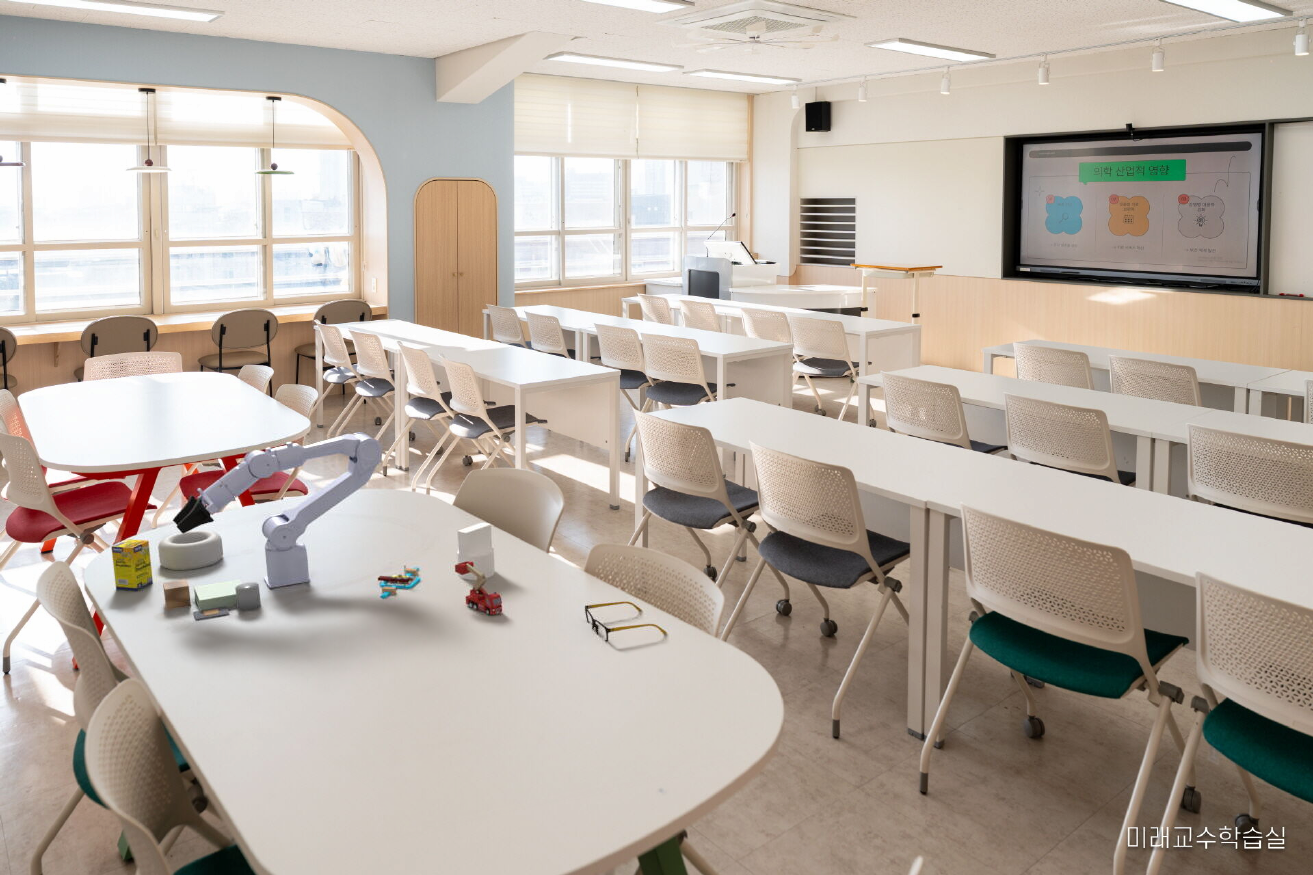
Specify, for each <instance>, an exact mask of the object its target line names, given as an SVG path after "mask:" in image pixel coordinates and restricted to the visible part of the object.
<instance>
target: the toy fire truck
mask: <svg viewBox="0 0 1313 875" xmlns="http://www.w3.org/2000/svg"><path fill="white" fill-rule="evenodd" d="M473 567H474V563H473V562H470V561H466V562H463V563H460V564H458V563H457V564H455V565H454V572H455V573H457V574H458V573H459V574H461V575H464V574H467V573H470V572H472V573H473V574H474V575H476V576H477V579H476V580H474V581H475V582H474V584H473V586H472V589H469V594H468V595H466V596H465V604H466V605H467V606H469V608H471V609H473V610H475V611H476V610H479V611H481V612H484V613H486V614H485V615H487V616H489V615H491V616H492V615H498V614H500V613H502V612H503V603H502V602H503V601H502V597H501V595H500V593H498V592H496V591H494V592H493V593H488V592H487V590H486V589H485V588H484V586H485V583H487V581H488V578H486V577H485V575H484V574H481V573H480V572H479V571H477V570H476V569H475V568H473Z"/></svg>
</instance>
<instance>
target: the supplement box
mask: <svg viewBox="0 0 1313 875" xmlns="http://www.w3.org/2000/svg"><path fill="white" fill-rule="evenodd" d="M110 548H111V554H112V555H111V556H112V563H113V564H112V565H113V574H114V581H115V589H116V590H118V591H120V590H122V591H132V592H135V591H136V592H138V591H140V590H141V589H143V588H145V587H147V586H149V585H151V584H154V582H153V581H154V580H153V571H152V561H151V553H150V552H151V551H150V542H149V540H145V539H144V540H143V539H133V538H132V539H129V538H127V539H126V540H124V541H122V542H119V543H117V544H115V545H114V544H113V545H111V547H110Z"/></svg>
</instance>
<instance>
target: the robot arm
mask: <svg viewBox="0 0 1313 875" xmlns="http://www.w3.org/2000/svg"><path fill="white" fill-rule="evenodd" d="M338 454H341V455H344V456H348V467H347V471H345V472H344V473H343V474H341V475H340V476H338V477H337V478H335V479H334V480H332V481H330V483H328V484H327V485H326V486H323V487H322V488H321V489H319V490H318V491H317V492H315V493H314V494H312V495H311V496H309V497H308V498H307V499H306V500H305V499H304V501H302V502H300V504H298V505H297V506H295V507H294V508H291V509H286V510H284V511H282V512H281V513H279V514H276V515H271V516H268V517H267V518H266V519H265V520H264V521H263V523H262V525H261V532H262V534H263V536H264V537H265V538H266V542H265V545H264V552H265V554H264V555H265V563H266V572H267V573H266V576H264V577H263V579H264V582H265V583H266V585H267V587H268V588H269V589H271V588H272V589H273V588H278V587H284V586H291V585H297V584H304V583H307V582H308V583H309V582H310V573H309V562H308V561H309V560H308V552H307V548H306V544H305V543H304V542H299V543H297V541H298V538H300V537H301V536H302V535H303V534H304V533H306V531H307V530H306V529H307V528H308V526H309V525H310V524H311V523H313V522H314V521H316V520H317V519H318V518H320V517H322V516H323V515H324V514H325V513H327V512H329V511H330V510H331V509H332V508H334V507H335V506H336V505H338V504H339V503H341V502H342V501H343V500H346V499H347V498H348V497H349V496H351V495H352V494H354V493H355V492H357V491H358V490H359V489H361V488H362V487H364V486H365V485H366V484H368V482H369V481H370V480H371V477H372V476H373V473H374V471H375V470H376V468H377V466H378V465H379V464H380V463H381V462H382V457H383V446H382V444H381V442H380V441H378V440H377V439H376V438H372V437H371V436H369V435H368V434H366V433H365V432H359V431H358V432H354V433H346V434H344V435H339V436H336V437H333V438H332V437H331V438H328V439H326V440H322V441H318V442H314V443H312V444H309V445H303V446H302V445H300V444H299V443H298V442H297V443H295V442H294V443H293V442H292V441H287V442H285V445H281V446H277V447H274V448H271V447H270V446H268V447H266V448H265V451H263V450H259V449H257V450H256V449H255V450H253V451H249V452H247V453H246V454H245V456H244V458H243V461H242V462H240V463H239V464H238V465H236V466H234V467H233V468H231V469H230V470H229V471H228V472H227V473H225V474H224V475H223V476H221V477H220V478H219V479H218V480H216V481H215V482H214V483H212V484H210V486H208V487H207V488H206V489H204V490H203V489H202V488H200V487H198V488H197V491H198V492H199V496H197V498H196V497H195V496H194V495H193V494H191V495H190V496H189V498H188V500H187V501H186V503H185V504H184V506H183V507H182V509H181V510H180V511H179V512H178V513H177V514H176V515H175V516H174V518H173V519H172V522H174V524H176V528H177V529H178V530H179V532H182V533H186V532H188V531H193V529H196V528H197V527H200V526H203V525H206V524H210V523H213V522H214V521H215V520H214V519H213V517H212V516H213V515H214V514H215V513H217V514H218V513H220V512H221V510H222V509H224V508H225V507H226V506H227V505H229V504H230V503H231V502H232V501H234V500H235V499H236V498H238V497H239V496H240V495H241V494H243V493H244V492H246V491H247V490H248V489H249V488H251V487H252V486H253V485H254V484H255V483H256V482H257V481H259V480H260V479H265V478H266V479H268V478H270V477H272V475H273V474H274V473H279V472H282V471H283V472H284V471H287V470H292V469H295V468H298V467H302V466H304V464H305V463H306V462H307V461H308V460H311V459H317V458H321V457H326V456H327V457H328V456H331V455H338Z"/></svg>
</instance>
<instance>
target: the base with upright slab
mask: <svg viewBox="0 0 1313 875" xmlns="http://www.w3.org/2000/svg"><path fill="white" fill-rule="evenodd" d="M457 542H458V549H457V552H456V556H457V558H456V559H457V564H460V563H463V562H466V561H470V562H473V563H474V567H473V568H475V569H476V570H477V571H479V572H480V573H481V574H484V575H485V577H486V579H488V578H491V577H493V576H494V575H495V572H496V570H495V549H494V548H493V546H492V544H493V543H492V524H491V523H488V522H483V521H482V522H480V523H479V522H478V523H476V524H474V525H471V526H468V527H464V528H462V529H459V530H457ZM457 576H458V577H459V578H460V579H463V580H470V581H471V580H472V581H476V579H477V576H476V575H474V574H473V573H472V572H470V573H467V574H464V575H461V574H459V573H457Z"/></svg>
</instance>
